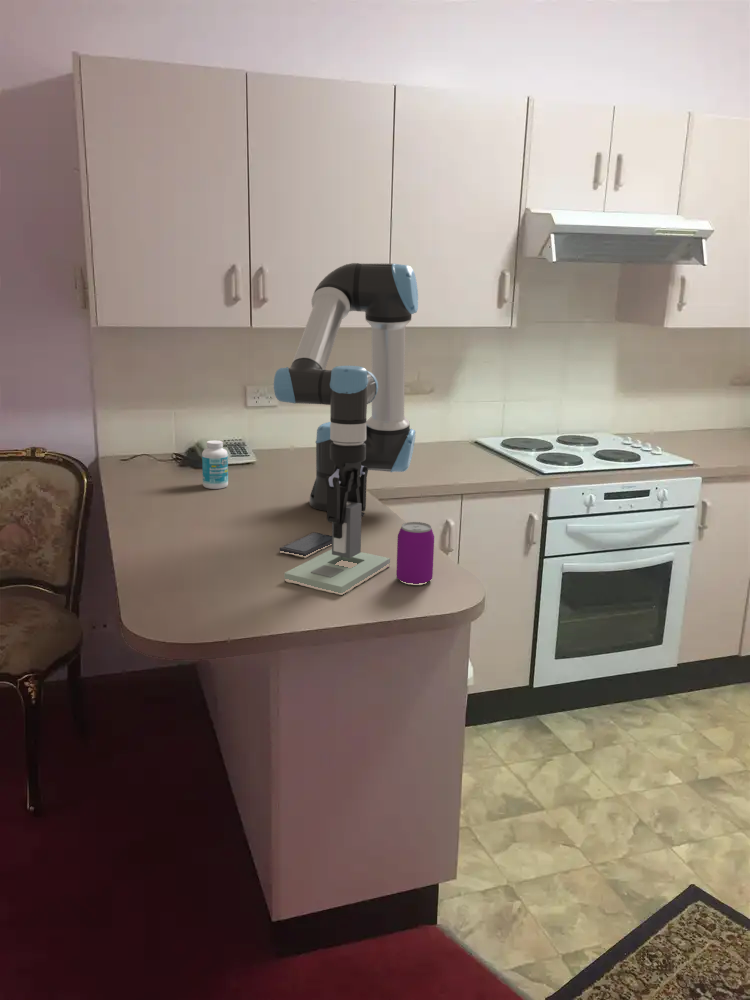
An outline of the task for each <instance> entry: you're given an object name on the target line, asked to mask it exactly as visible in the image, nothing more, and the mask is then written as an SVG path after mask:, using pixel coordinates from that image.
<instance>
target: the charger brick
mask: <svg viewBox="0 0 750 1000" xmlns="http://www.w3.org/2000/svg"><path fill="white" fill-rule="evenodd" d="M361 510H362V504H361V503H355V502H350V501H347V505H346V513H345V520H344V523H347V530H346V553H341V552H336V551H334V536H333V533H334V524H333V522H331V536H332V545H331V549H332V555H337V556H342V557H346V558H351V557H353V556H355V555H357V554H359V553H361V552H362V551H361V550H362V548H361V547H362V516H361Z"/></svg>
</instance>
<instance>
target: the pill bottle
mask: <svg viewBox="0 0 750 1000" xmlns="http://www.w3.org/2000/svg"><path fill="white" fill-rule="evenodd" d="M223 446H224V442H223V441H222V440H208V441H206V447H207V448H204V449H203V451H202V453H201V461H202V467H201V468H202V486H203V487H204V488H206V489H209V490H210V489H211V490H219V489H220V490H221V489H225V488H226V487H228V485H229V463H228V462H229V455H228V451H227V449H225V448H223Z"/></svg>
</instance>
